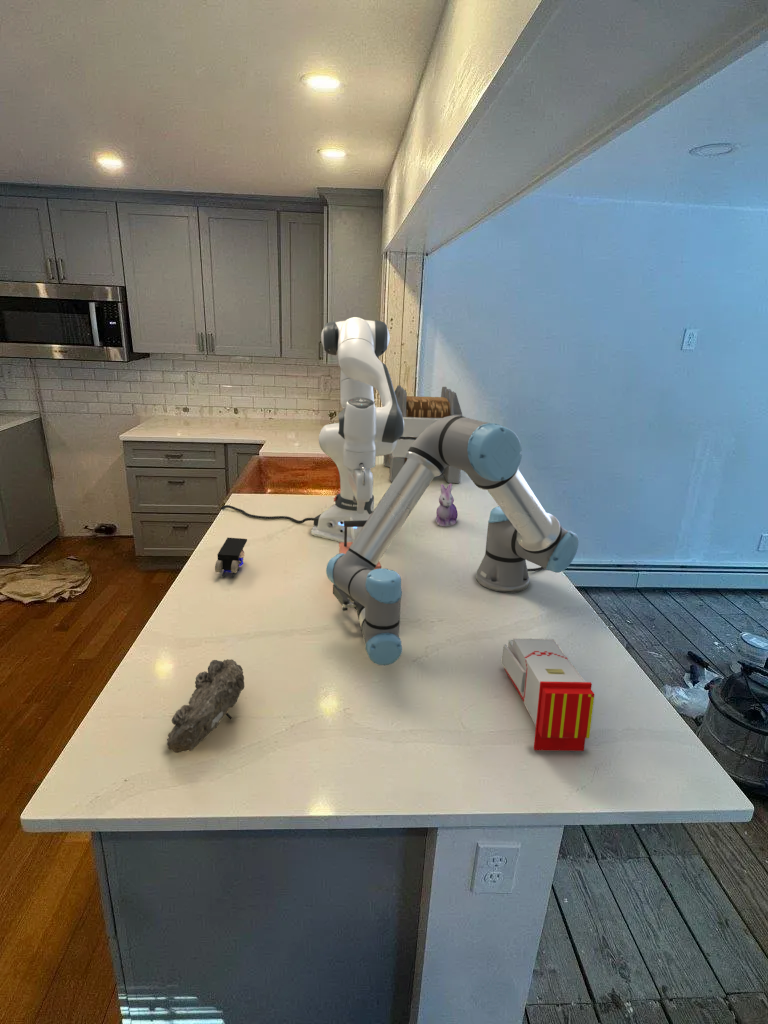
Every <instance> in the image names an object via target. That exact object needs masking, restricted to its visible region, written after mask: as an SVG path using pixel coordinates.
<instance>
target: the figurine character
mask: <svg viewBox="0 0 768 1024" xmlns="http://www.w3.org/2000/svg"><path fill="white" fill-rule="evenodd" d="M247 542H248V538H240V537H226V539H225V541H224V543H223V544H222V546H221V547H220V549H219V551H218V552H217V560H216V562H215V564H214V572H215V573H221V577H222V578H224V577H225V576H226V574H227V573H230V574H231V573H232V574H231V578H234V577H235V575H236V573H237V572H239V571H240V567H242V566H243V565H244V564H245V562H244V558H245V551H244V547H245V546H246V544H247Z"/></svg>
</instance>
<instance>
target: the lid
mask: <svg viewBox="0 0 768 1024" xmlns="http://www.w3.org/2000/svg"><path fill="white" fill-rule="evenodd" d="M366 522H367V520H359V521H344V542H339V541H338V546H339V547H338V549H339V548H340V552H341V553H343V554H346V552H347V551H348V549H349V548H350V546H351V545H352V543H353V542H347V527H363V526H364V525H365V523H366ZM380 562H381V561H379V562H378V563H377V565H376V567H375V569H380V568H382V564H381V563H380ZM375 569H374V570H375Z"/></svg>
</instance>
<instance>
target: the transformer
mask: <svg viewBox="0 0 768 1024" xmlns="http://www.w3.org/2000/svg"><path fill="white" fill-rule="evenodd" d="M394 392H395V395H396V399H397V403H398V406H399V408H400V410H401V413H402V416H403V419H404V431H403V435H402V436H401V437H400V438H399V439H398V440H397V444H396V447H395V449H394V450H393V452H392V453H391V454H387V455H383V466H384V467H388V468H389V475H388V476H389V477H388V478H389V480H390V482H391V483H392V482H393V480H394V479H395V477H396V476H397V474H398V473H399V471H400V470H401V468H402V467H403V465H404V464H405V462H406V461H407V456H406V453H407V451H408V450H409V448H410V447H411V445H412V444H413V443H414V441H415V440H416V439H417V437H418V436H419V435H420V434H421V433H422V432H423V431H424V430H425V429H426V428H428V427H429V426H430V425H431V424H433V423H434V422H436V421H437V420H439V419H441V418H444V417H447V416H452V415H458V416H463V411H462V408H461V405H460V402H459V398H458V395H457V392H455V391H453V390H452V389H451V388H447V386H442V387H441V392H440V393H441V394H440V396H415V395H414V396H413V395H412V396H411V395H407V394H408V393H407V390H406V389H404V388H403V387H402V385H399V384H398V385H397V386H396V388H395V389H394ZM461 472H462V470H461V469H458V468H455V467H452V466H447V467H446V468H445V469H444V470H443V472H442V473H441V475H443V478H444V479H445V481H446V482H447V483H449V484H450V483H452V484H455V483H456V484H459V483H461Z"/></svg>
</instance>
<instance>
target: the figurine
mask: <svg viewBox="0 0 768 1024" xmlns="http://www.w3.org/2000/svg"><path fill="white" fill-rule="evenodd" d="M452 489H453V483H449V484H448V485H447V487H445V485H444V484H443V483H441V484H440V494H439V497H438V503H439V506H438V507H437V508H436V513H435V515H436V517H435V521H434V522H435V523H436V524H437V526H440V527H450V526H454V525H455V524H457V520H458V517H459V516H458V514H459V513H458V510H457V507H456V505H455V504H454V502H455V498H454V495H453V493H452Z"/></svg>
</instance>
